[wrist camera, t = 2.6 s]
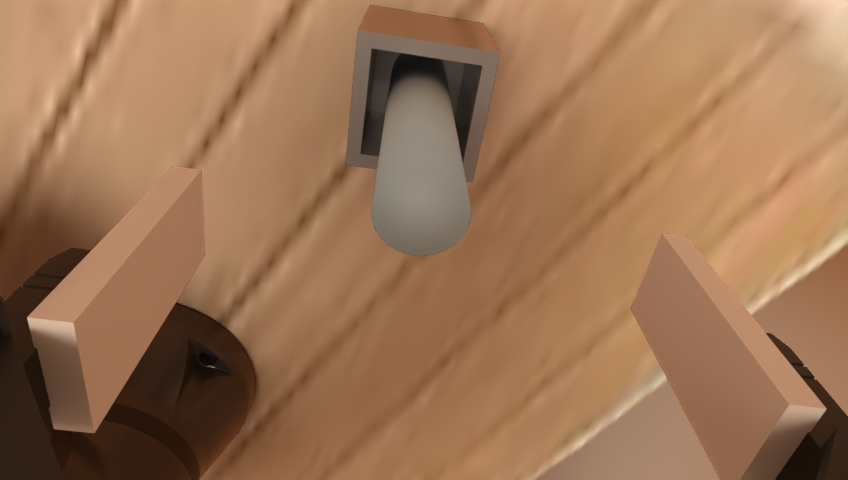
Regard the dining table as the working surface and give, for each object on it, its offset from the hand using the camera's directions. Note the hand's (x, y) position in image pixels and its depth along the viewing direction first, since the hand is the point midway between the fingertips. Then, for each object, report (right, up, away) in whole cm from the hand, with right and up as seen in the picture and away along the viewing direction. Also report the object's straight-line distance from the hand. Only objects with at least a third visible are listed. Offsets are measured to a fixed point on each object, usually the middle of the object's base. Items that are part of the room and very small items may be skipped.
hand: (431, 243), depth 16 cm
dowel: (-1, +10, +18) cm, 20 cm away
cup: (-1, +10, +18) cm, 21 cm away
